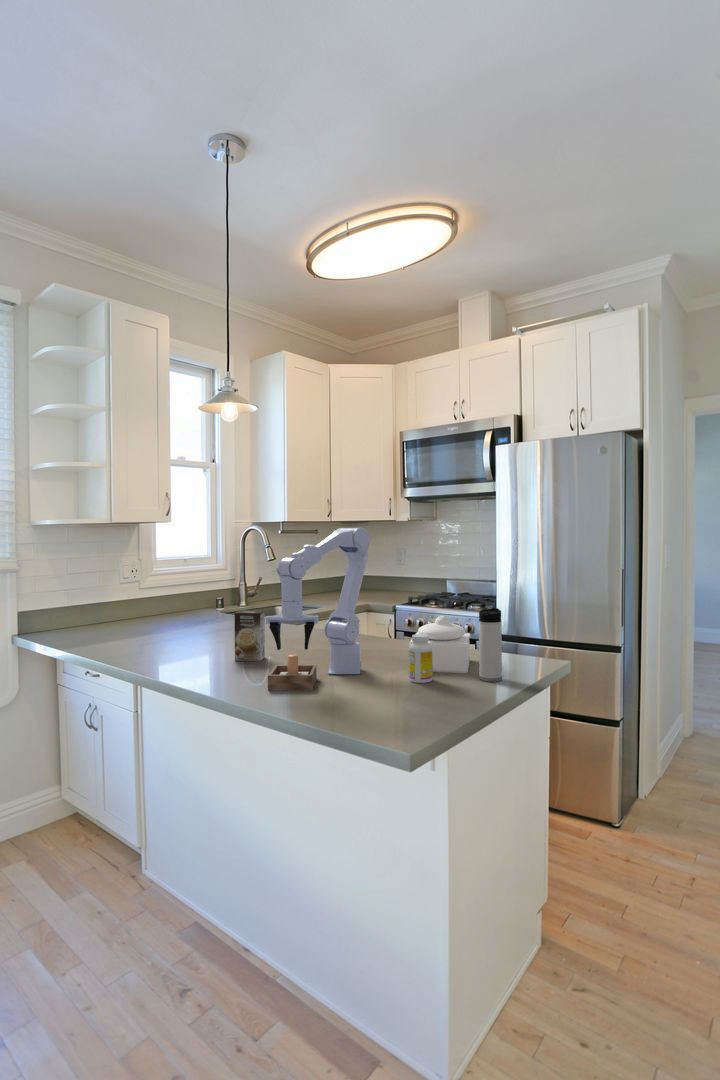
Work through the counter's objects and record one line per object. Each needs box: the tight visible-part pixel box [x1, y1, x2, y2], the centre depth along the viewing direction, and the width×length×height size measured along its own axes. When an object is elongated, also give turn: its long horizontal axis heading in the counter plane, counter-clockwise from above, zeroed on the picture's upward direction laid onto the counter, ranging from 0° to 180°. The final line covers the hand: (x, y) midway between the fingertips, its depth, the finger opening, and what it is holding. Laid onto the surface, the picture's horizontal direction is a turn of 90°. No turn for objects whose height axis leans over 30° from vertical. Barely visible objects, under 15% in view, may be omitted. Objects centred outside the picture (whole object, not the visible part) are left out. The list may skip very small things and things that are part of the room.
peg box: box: [267, 664, 318, 691], centre depth 162 cm, size 12×12×4 cm
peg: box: [286, 654, 299, 675], centre depth 162 cm, size 3×3×8 cm
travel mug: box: [478, 607, 503, 683], centre depth 164 cm, size 6×7×20 cm
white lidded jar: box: [408, 615, 471, 674], centre depth 182 cm, size 18×18×16 cm
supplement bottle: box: [408, 633, 434, 684], centre depth 164 cm, size 7×7×13 cm
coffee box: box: [234, 609, 266, 662], centre depth 194 cm, size 9×6×16 cm
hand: (292, 649), depth 162 cm, fingers open, 7 cm apart
